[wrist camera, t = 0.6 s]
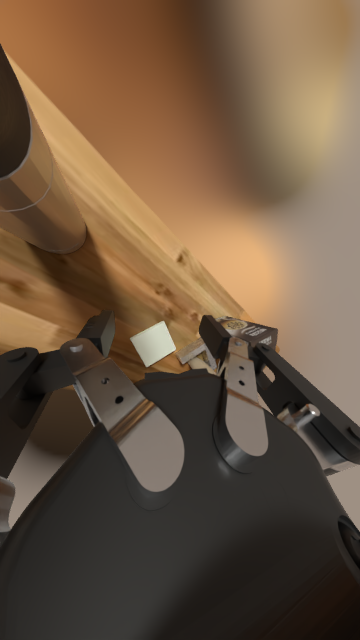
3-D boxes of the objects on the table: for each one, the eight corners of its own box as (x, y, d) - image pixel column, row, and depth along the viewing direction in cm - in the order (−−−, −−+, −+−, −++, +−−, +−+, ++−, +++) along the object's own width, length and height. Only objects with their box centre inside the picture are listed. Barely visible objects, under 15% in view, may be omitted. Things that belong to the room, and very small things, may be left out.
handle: (201, 354, 42) (241, 384, 29) (190, 370, 41) (225, 409, 28) (192, 347, 40) (230, 377, 27) (180, 365, 39) (213, 403, 26)
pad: (129, 337, 31) (130, 339, 30) (163, 320, 33) (164, 321, 32) (145, 365, 34) (146, 367, 33) (174, 348, 37) (176, 349, 36)
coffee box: (225, 314, 43) (279, 328, 29) (226, 332, 45) (276, 352, 31) (203, 322, 39) (251, 341, 25) (204, 340, 41) (251, 368, 27)
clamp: (175, 353, 37) (180, 359, 34) (202, 336, 40) (209, 340, 37) (186, 378, 41) (192, 386, 38) (210, 361, 44) (217, 367, 41)
